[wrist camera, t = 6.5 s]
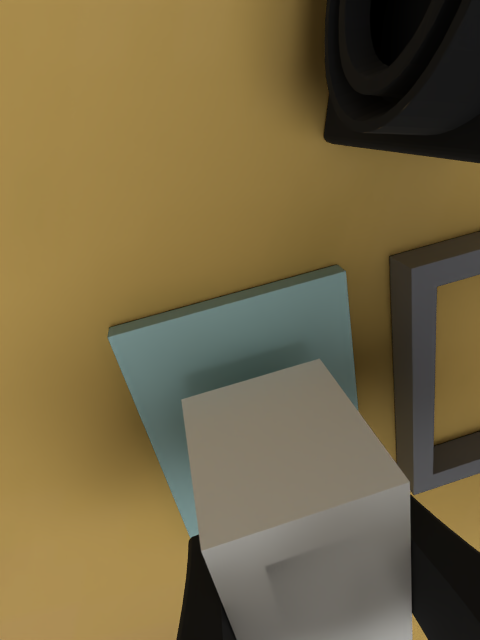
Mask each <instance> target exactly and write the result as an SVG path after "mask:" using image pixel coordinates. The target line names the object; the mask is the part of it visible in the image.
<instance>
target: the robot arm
mask: <svg viewBox="0 0 480 640" xmlns="http://www.w3.org/2000/svg"><path fill="white" fill-rule="evenodd" d="M410 525H411V592H412V613H413V615H414V617H415V618H416V620H417V622H418V623H419V625H420V627H421V628H422V630H423V632H424V633H425V635H426V637H427V638H428V640H480V552H478V551H477V550H476V549H474V548H473V547H472V546H471V545H469V544H468V543H467V542H466V541H464V540H463V539H462V538H461V537H460V536H458V535H457V534H456V533H455V532H453V531H452V530H451V529H450V528H448V527H447V526H446V525H445V524H444V523H442V522H441V521H440V520H439V519H438V518H436V517H435V516H434V515H433V514H432V513H431V512H430V511H428V510H427V509H426V508H425V507H424V506H423V505H421V504H420V503H419V502H418V501H417V500H416V499H415V498H414V497H413V496H411V495H410ZM177 640H237V639H236V636H235V634H234V631H233V629H232V626H231V624H230V622H229V619H228V617H227V614H226V612H225V609H224V607H223V604H222V602H221V599H220V597H219V594H218V592H217V589H216V587H215V584H214V582H213V579H212V577H211V574H210V572H209V569H208V567H207V564H206V562H205V559H204V557H203V555H202V552H201V546H200V539H199V535H196V536H193V537H191V539H190V540H189V545H188V563H187V574H186V583H185V590H184V598H183V605H182V611H181V617H180V623H179V628H178V634H177Z"/></svg>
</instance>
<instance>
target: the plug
mask: <svg viewBox="0 0 480 640" xmlns="http://www.w3.org/2000/svg"><path fill="white" fill-rule="evenodd" d="M181 401H182V409H183V416H184V424H185V432H186V439H187V447H188V455H189V462H190V470H191V477H192V485H193V493H194V500H195V508H196V516H197V523H198V531H199V539H200V546H201V552H202V555H203V557H204V559H205V562H206V564H207V567H208V569H209V572H210V574H211V577H212V579H213V582H214V584H215V587H216V589H217V592H218V594H219V597H220V599H221V602H222V604H223V607H224V609H225V612H226V614H227V617H228V619H229V622H230V624H231V626H232V629H233V631H234V634H235V636H236V639H237V640H412V592H411V525H410V482H409V480H408V479H407V477H406V476H405V475H404V473H403V472H402V471H401V469H400V468H399V466H398V465H397V464H396V462H395V461H394V460H393V458H392V457H391V456H390V454H389V453H388V451H387V450H386V449H385V447H384V446H383V445H382V443H381V442H380V440H379V439H378V438H377V436H376V435H375V434H374V432H373V431H372V430H371V428H370V427H369V425H368V424H367V423H366V421H365V420H364V419H363V417H362V416H361V414H360V413H359V412H358V410H357V409H356V408H355V406H354V405H353V404H352V402H351V401H350V399H349V398H348V397H347V395H346V394H345V393H344V391H343V390H342V388H341V387H340V386H339V384H338V383H337V382H336V380H335V379H334V378H333V376H332V375H331V373H330V372H329V371H328V369H327V368H326V367H325V365H324V364H323V362H322V361H321V360H320V359H316V360H313V361H309V362H306V363H303V364H299V365H296V366H293V367H289V368H286V369H282V370H279V371H276V372H272V373H269V374H266V375H262V376H259V377H255V378H252V379H249V380H245V381H242V382H239V383H235V384H232V385H228V386H225V387H222V388H218V389H215V390H212V391H208V392H205V393H201V394H198V395H195V396H191V397H188V398H184V399H181Z"/></svg>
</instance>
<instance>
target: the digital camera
mask: <svg viewBox="0 0 480 640" xmlns="http://www.w3.org/2000/svg"><path fill="white" fill-rule="evenodd" d="M325 69H326V79H327V85H328V90H329V100H328V108H327V116H326V124H325V132H324V138H325V140H326V141H327V142H329V143H332V144H338V145H346V146H353V147H360V148H368V149H376V150H384V151H391V152H399V153H407V154H414V155H422V156H429V157H437V158H444V159H452V160H460V161H467V162H475V163H480V0H327V7H326V19H325Z"/></svg>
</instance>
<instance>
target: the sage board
mask: <svg viewBox="0 0 480 640" xmlns="http://www.w3.org/2000/svg"><path fill="white" fill-rule="evenodd" d="M108 340H109V342H110V345H111V347H112V349H113V352H114V354H115V357H116V359H117V361H118V364H119V366H120V369H121V371H122V374H123V376H124V378H125V381H126V383H127V386H128V388H129V391H130V393H131V395H132V398H133V400H134V403H135V405H136V407H137V410H138V412H139V415H140V417H141V420H142V422H143V424H144V427H145V429H146V432H147V434H148V437H149V439H150V441H151V444H152V446H153V449H154V451H155V453H156V456H157V458H158V461H159V463H160V466H161V468H162V470H163V473H164V475H165V478H166V480H167V483H168V485H169V487H170V490H171V492H172V495H173V497H174V499H175V502H176V504H177V507H178V509H179V512H180V514H181V516H182V519H183V521H184V524H185V526H186V529H187V531H188V533H189V536H190V538H191V537H193V536H196V535H199V531H198V523H197V516H196V508H195V500H194V493H193V485H192V477H191V470H190V462H189V455H188V447H187V439H186V432H185V424H184V416H183V409H182V401H181V399H184V398H188V397H191V396H195V395H198V394H201V393H205V392H208V391H212V390H215V389H218V388H222V387H225V386H228V385H232V384H235V383H239V382H242V381H245V380H249V379H252V378H255V377H259V376H262V375H266V374H269V373H272V372H276V371H279V370H282V369H286V368H289V367H293V366H296V365H299V364H303V363H306V362H309V361H313V360H316V359H320V360H321V361H322V362H323V364H324V365H325V367H326V368H327V369H328V371H329V372H330V373H331V375H332V376H333V378H334V379H335V380H336V382H337V383H338V384H339V386H340V387H341V388H342V390H343V391H344V393H345V394H346V395H347V397H348V398H349V399H350V401H351V402H352V404H353V405H354V406H355V408H356V409H357V410H358V402H357V390H356V379H355V368H354V357H353V346H352V335H351V324H350V313H349V302H348V291H347V279H346V271H345V270H344V269H342V268H341V267H340V266H338V265H334V266H331V267H327V268H324V269H320V270H316V271H313V272H309V273H305V274H302V275H298V276H295V277H291V278H287V279H284V280H280V281H277V282H273V283H269V284H266V285H262V286H258V287H255V288H251V289H248V290H244V291H240V292H237V293H233V294H229V295H226V296H222V297H219V298H215V299H211V300H208V301H204V302H201V303H197V304H193V305H190V306H186V307H182V308H179V309H175V310H172V311H168V312H164V313H161V314H157V315H153V316H150V317H146V318H143V319H139V320H135V321H132V322H128V323H125V324H121V325H117V326H114V327H110V328H109V332H108Z"/></svg>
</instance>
